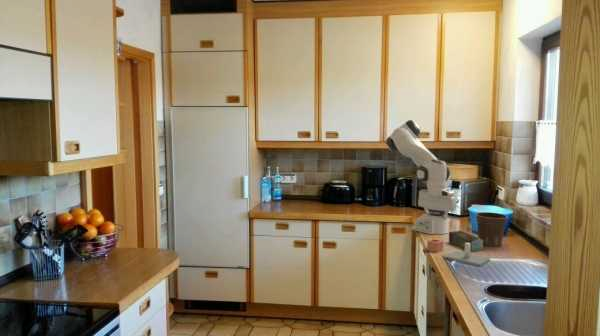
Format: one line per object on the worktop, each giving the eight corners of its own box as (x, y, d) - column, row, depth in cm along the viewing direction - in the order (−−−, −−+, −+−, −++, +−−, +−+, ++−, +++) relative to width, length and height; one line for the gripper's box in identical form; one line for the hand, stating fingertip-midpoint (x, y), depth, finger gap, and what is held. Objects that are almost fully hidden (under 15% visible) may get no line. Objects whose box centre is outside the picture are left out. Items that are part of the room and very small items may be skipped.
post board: (444, 258, 227) (444, 242, 226) (454, 253, 235) (455, 237, 234) (480, 266, 214) (481, 249, 213) (490, 260, 223) (491, 244, 222)
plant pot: (491, 238, 264) (492, 211, 262) (512, 245, 249) (514, 216, 247) (468, 241, 258) (469, 213, 257) (488, 248, 243) (490, 219, 241)
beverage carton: (470, 252, 238) (471, 239, 238) (447, 242, 256) (448, 231, 256) (483, 250, 241) (484, 238, 240) (459, 241, 259) (460, 229, 258)
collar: (427, 250, 241) (427, 240, 240) (432, 247, 245) (432, 238, 244) (437, 252, 237) (438, 243, 236) (443, 250, 241) (443, 240, 240)
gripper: (416, 189, 243) (415, 215, 244) (452, 193, 228) (451, 221, 230) (422, 188, 247) (421, 213, 249) (458, 192, 233) (457, 219, 234)
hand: (436, 217), depth 239 cm, fingers open, 8 cm apart
